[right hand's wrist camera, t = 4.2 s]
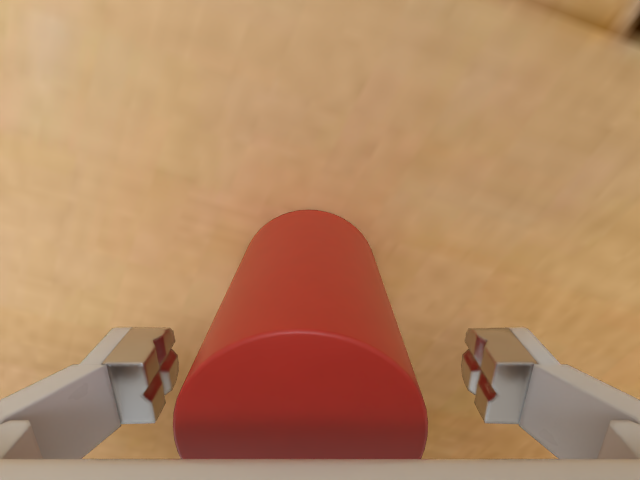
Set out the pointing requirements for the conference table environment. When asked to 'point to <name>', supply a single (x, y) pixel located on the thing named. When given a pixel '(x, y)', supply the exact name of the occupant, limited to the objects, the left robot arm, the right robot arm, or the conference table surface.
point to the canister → (303, 356)
